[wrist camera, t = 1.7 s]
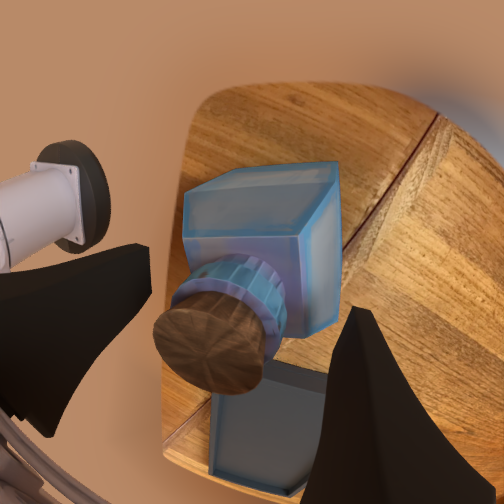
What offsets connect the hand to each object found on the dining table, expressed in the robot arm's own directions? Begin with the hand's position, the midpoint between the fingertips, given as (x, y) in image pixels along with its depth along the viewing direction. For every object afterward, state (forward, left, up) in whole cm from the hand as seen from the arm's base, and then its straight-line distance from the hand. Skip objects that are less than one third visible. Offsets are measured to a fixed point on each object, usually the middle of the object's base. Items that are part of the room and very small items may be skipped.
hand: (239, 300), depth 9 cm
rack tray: (+4, -31, -9) cm, 32 cm away
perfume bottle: (0, 0, -10) cm, 10 cm away
